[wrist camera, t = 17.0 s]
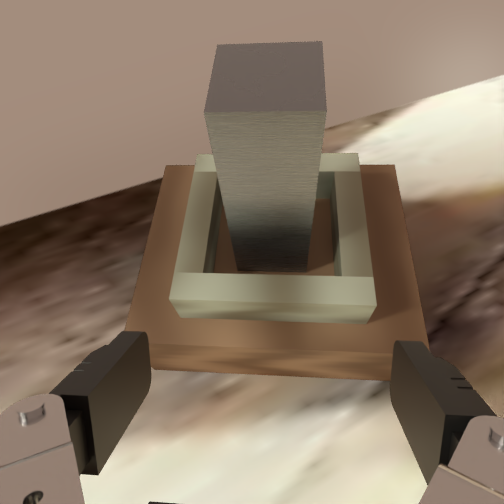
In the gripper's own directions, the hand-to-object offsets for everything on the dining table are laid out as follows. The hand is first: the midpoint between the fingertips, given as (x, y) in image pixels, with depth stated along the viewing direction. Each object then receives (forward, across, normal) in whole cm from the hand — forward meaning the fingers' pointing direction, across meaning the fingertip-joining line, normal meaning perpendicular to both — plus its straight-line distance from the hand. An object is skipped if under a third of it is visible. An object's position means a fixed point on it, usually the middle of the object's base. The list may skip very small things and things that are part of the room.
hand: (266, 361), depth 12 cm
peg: (+11, 0, -2) cm, 11 cm away
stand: (+15, 0, +3) cm, 16 cm away
